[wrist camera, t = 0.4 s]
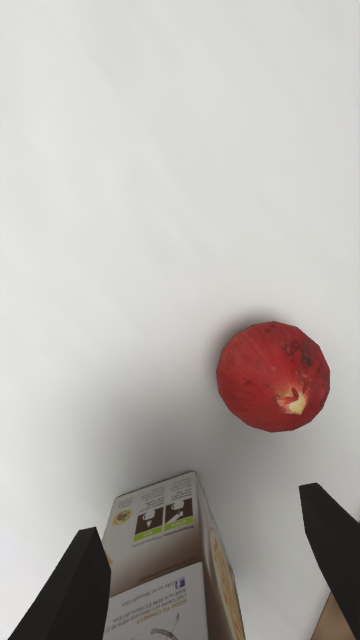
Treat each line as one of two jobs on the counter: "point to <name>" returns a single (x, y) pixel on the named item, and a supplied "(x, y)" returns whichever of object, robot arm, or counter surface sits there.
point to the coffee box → (169, 567)
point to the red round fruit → (273, 377)
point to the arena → (332, 623)
